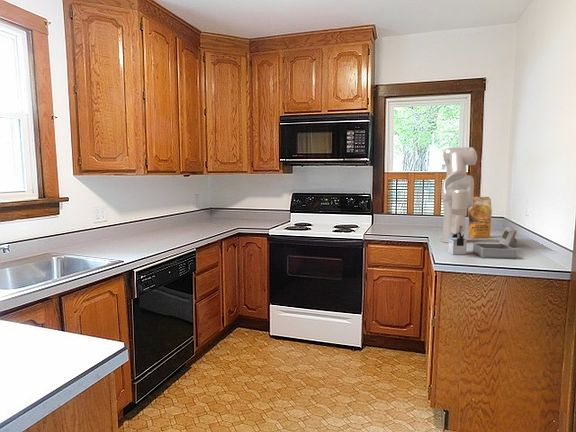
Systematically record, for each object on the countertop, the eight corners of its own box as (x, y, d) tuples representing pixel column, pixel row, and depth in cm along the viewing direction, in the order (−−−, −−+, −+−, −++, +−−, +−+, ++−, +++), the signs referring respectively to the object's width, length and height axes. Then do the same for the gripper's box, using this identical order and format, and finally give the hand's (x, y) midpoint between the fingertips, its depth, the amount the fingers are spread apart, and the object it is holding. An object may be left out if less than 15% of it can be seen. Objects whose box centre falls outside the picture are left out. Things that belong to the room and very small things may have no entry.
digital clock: (498, 242, 245) (499, 226, 244) (514, 243, 241) (515, 227, 240) (500, 247, 230) (501, 229, 229) (517, 248, 226) (518, 230, 225)
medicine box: (461, 253, 213) (462, 237, 212) (466, 254, 209) (467, 238, 208) (448, 253, 212) (448, 237, 211) (452, 255, 207) (453, 239, 207)
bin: (472, 252, 215) (473, 243, 215) (503, 252, 213) (504, 244, 212) (482, 258, 200) (482, 248, 199) (515, 259, 197) (516, 249, 197)
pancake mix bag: (462, 236, 267) (464, 196, 264) (488, 236, 270) (490, 196, 267) (468, 238, 261) (470, 197, 258) (494, 237, 263) (496, 196, 260)
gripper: (447, 211, 217) (446, 241, 218) (456, 213, 200) (454, 246, 201) (462, 211, 216) (460, 242, 217) (471, 214, 199) (469, 247, 200)
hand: (457, 244), depth 209 cm, fingers open, 9 cm apart
